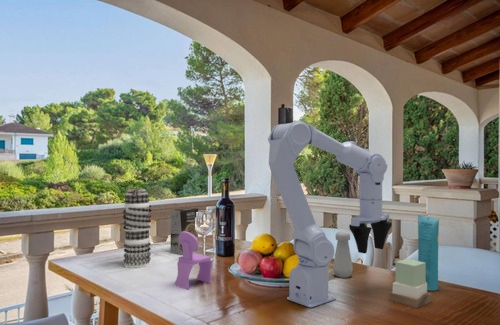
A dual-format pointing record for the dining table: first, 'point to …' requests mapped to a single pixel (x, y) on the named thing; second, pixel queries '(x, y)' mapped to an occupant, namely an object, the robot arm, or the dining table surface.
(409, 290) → the cream slab
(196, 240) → the toy chair
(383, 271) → the dining table surface
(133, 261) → the decorative candle
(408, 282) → the sage cube
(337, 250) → the salt shaker
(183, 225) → the coffee box
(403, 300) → the walnut slab
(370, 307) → the dining table surface
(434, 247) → the tube
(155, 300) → the dining table surface
